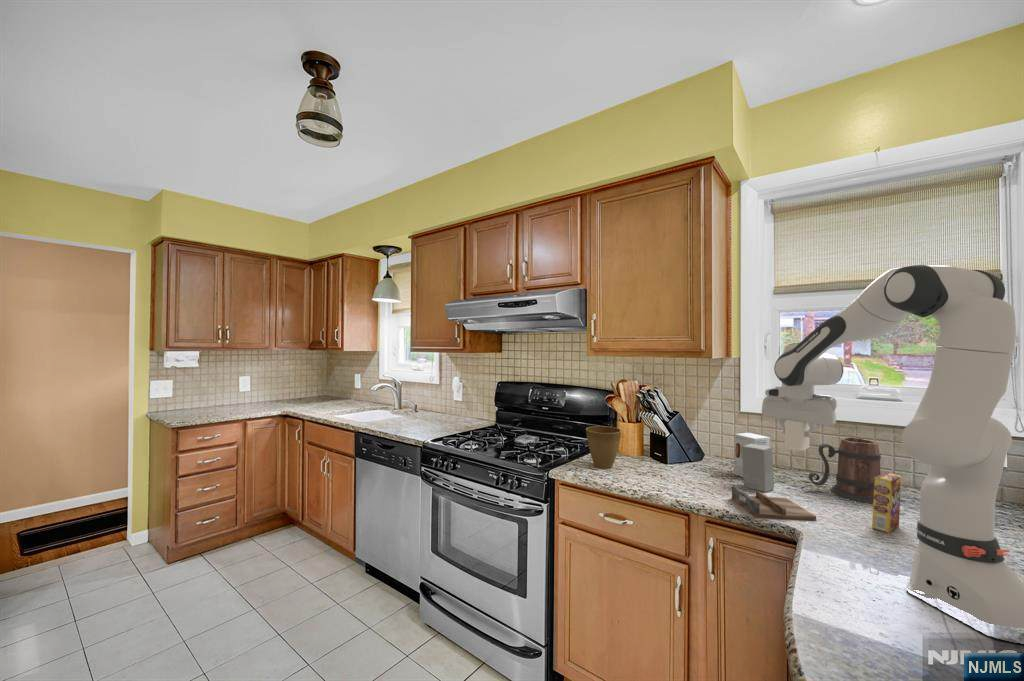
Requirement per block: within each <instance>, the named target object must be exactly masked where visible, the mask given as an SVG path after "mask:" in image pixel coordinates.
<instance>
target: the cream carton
mask: <svg viewBox="0 0 1024 681" xmlns="http://www.w3.org/2000/svg"><path fill="white" fill-rule="evenodd" d="M809 429H810V427H809V423H804V422H801V421H793V420H785V434H784V449H786V450H793V451H796V452H802V451H805V450H807V449H810V438H811V437H805V436H804V435H805V434H804V431H808V430H809Z"/></svg>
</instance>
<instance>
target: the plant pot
mask: <svg viewBox="0 0 1024 681" xmlns="http://www.w3.org/2000/svg"><path fill="white" fill-rule="evenodd" d="M585 432H586V439H587V443H588V448H589V453H590V457H591V459H592V462H593V465H594V467H596V468H598V469H602V470H603V469H604V470H605V469H606V470H607V469H608V470H609V469H611V468H613V465H614V463H615V460H616V457H617V455H618V451H619V446H620V443H621V435H622V429H620V428H618V427H614V426H605V425H603V426H602V425H601V426H600V425H599V426H598V425H597V426H595V425H594V426H588V427H586V428H585Z"/></svg>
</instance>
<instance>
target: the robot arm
mask: <svg viewBox="0 0 1024 681" xmlns="http://www.w3.org/2000/svg"><path fill="white" fill-rule="evenodd" d="M1005 296H1006V287H1005V283H1004V282H1003V281H1002V280H1001V279H1000V277H998V276H996V275H995V274H993V273H991V272H987V271H984V270H980V269H967V268H964V267H963V268H962V267H956V266H954V265H953V266H952V265H939V264H938V265H937V264H936V265H933V264H932V265H928V264H927V265H926V264H913V265H911V264H910V265H906V266H903V267H894V268H891V269H888V270H887V271H886V272H884V273H883V274H881V275H880V276H879V277H877V278H876V279H875V280H873V281H872V282H871V283H870V284H869V285H868V286H867V287H866V288H865V289H864V290H863V291H862V292H860V294H859V295H858V296H857V297H856V298H855V299H854V300H853V301H852V302H851V303H850V304H848V305H847V306H846V307H845V308H843V309H842V310H841V311H839V312H838V313H836V314H835V315H833V316H831V317H830V318H828V319H826V320H824V321H823V322H821V323H820V324H819V325H818V326H817V327H816V328H815V329H813V330H812V331H811V332H810V333H809V334H807V335H806V336H805V337H804V338H803V339H802V340H801V341H800V342H794V343H793V342H792V343H789V344H786V345H785V347H784V350H783V353H782V354H781V355H780V356H778V358H777V360H776V361H775V363H774V367H773V368H774V373H775V376H776V377H777V380H779V381H780V382H781V386H776V387H774V388H773V387H772V388H768V389H765V391H764V394H765V397H764V398H763V400H762V404H761V415H762V417H764V418H768V419H776V420H778V423H779V424H780V427H781V428H782V433H783V434H784V435H785V420H793V421H801V422H804V423H809V427H810V429H809V430H808V431H804V434H805V435H804V436H805V437H810V438H812V432H813V431H814V430H815V428H816V427H817V425H821V426H826V427H827V426H828V427H832V426H834V425H835V424H836V422H837V415H836V409H837V405H838V404H837V400H836V399H835V398H834V397H832V396H831V395H825V394H815V386H831V385H835V384H837V383H839V382H840V381H841V379H842V378H843V375H844V365H843V363H842V361H841V359H840V358H839V357H837V356H836V355H833V354H831V353H830V354H829V353H826V352H828V351H829V350H830V349H832V348H834V347H835V346H837V345H838V346H839V345H841V344H844V343H849V342H854V341H855V342H856V341H861V340H869V339H876V338H880V337H881V336H884V335H885V334H887V333H889V332H891V331H892V330H894V329H895V328H897V327H898V325H899V324H900V323H901V322H903V321H904V320H905V319H906V318H907V317H908V316H909V315H910V314H911V315H914V316H916V317H919V318H928V317H930V316H931V317H933V318H934V319H935V320H936V321H937V323H938V326H939V332H938V337H937V340H936V341H937V342H936V347H935V353H934V357H933V364H932V370H931V374H930V378H929V383H928V385H927V388H926V390H925V393H924V394H923V397H922V399H921V400H920V403H919V405H918V407H917V409H916V412H915V415H914V416H913V418H912V419H911V421H909V423H908V424H907V425H906V426H905V427H904V428H903V430H902V434H901V443H902V445H903V447H904V449H905V450H906V452H907V453H908V455H910V456H911V458H913V459H915V460H916V461H918V462H920V463H922V464H925V465H929V469H928V472H927V474H926V476H925V478H924V480H923V482H922V483H921V485H920V489H919V490H920V494H919V496H920V497H919V498H920V499H919V504H920V505H919V506H920V507H919V508H920V509H919V520H917V525H916V538H917V539H918V545H917V547H916V550H915V553H914V557H913V563H912V568H911V569H912V570H911V576H910V577H909V580H910V584H909V583H908V584H907V585H906V588H908V589H909V590H911V591H913V592H915V593H917V592H916V591H914V590H919V591H922V592H924V593H925V594H920V593H917V594H919V595H921V596H924V597H926V598H931V599H932V598H933V599H935V598H936V599H937V598H938V599H940V600H942V601H944V602H946V603H948V604H950V605H952V606H954V607H956V608H958V609H960V610H963V611H965V612H967V613H969V614H971V615H973V616H974V617H976V618H977V619H979V620H981V621H984V622H987V623H989V624H994V625H1000V626H1007V627H1013V628H1024V581H1022V579H1020V577H1019V576H1018V575H1017V574H1016V573H1015V572H1014V571H1013V570H1012V569H1011V568H1010V567H1009V566H1008V564H1006V563H1005V557H1006V556H1007V557H1008V556H1009V557H1010V554H1009V552H1010V551H1011V550H1009V549H1003V548H1001V546H1000V544H999V541H998V539H997V538H996V536H995V528H996V527H995V524H996V520H995V519H996V500H997V494H998V489H999V485H1000V482H1001V480H1002V476H1003V471H1004V468H1005V462H1006V457H1007V454H1008V452H1009V450H1010V449H1011V447H1012V443H1013V437H1012V433H1011V432H1010V430H1009V429H1008V427H1007V426H1006V425H1005V424H1004V423H1002V421H999V420H998V419H996V418H993V417H992V415H993V413H994V411H995V409H996V407H997V405H998V403H999V402H1000V400H1001V398H1002V397H1004V395H1005V394H1006V392H1007V388H1008V384H1009V383H1008V382H1009V378H1010V372H1011V367H1012V362H1013V356H1014V352H1015V345H1016V330H1017V329H1016V328H1017V327H1016V326H1017V325H1016V315H1015V308H1013V306H1012V305H1011V304H1010V303H1009V302H1007V301H1005V300H1004V298H1005Z"/></svg>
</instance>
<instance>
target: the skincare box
mask: <svg viewBox="0 0 1024 681" xmlns="http://www.w3.org/2000/svg"><path fill="white" fill-rule="evenodd" d="M742 455H743V477H742V479H743V487H744V486H745V488H748V489H752V490H755V491H760V492H762V493H767V492H769V491H772V490H774V489H775V480H774V479H775V478H774V463H773V462H774V460H773V447H771V446H770V447H767V446H761V445H756V444H748V445H744V446H742Z"/></svg>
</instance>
